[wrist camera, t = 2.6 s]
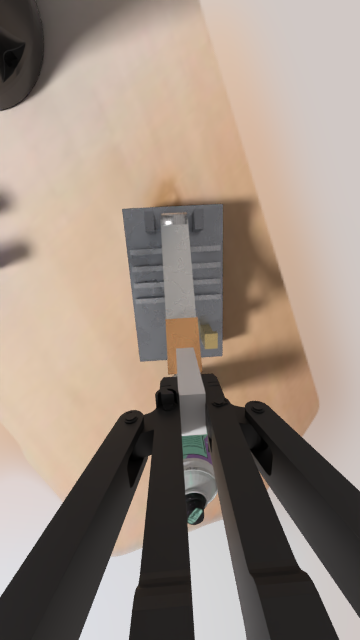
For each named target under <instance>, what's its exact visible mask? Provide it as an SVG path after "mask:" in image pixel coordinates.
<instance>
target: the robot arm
mask: <svg viewBox="0 0 360 640" xmlns="http://www.w3.org/2000/svg"><path fill="white" fill-rule="evenodd" d="M43 47H44V43H43V30H42V24H41V19H40V15H39V11H38V8H37V5H36V2H35V0H0V110H3V109H6V108H9V107H12V106H14V105H16V104H17V103H19V102H20V101H21V100H23V99H24V98H25V97H26V96H27V95H28V93H29V92H30V91H31V89H32V88H33V86H34V84H35V83H36V80H37V78H38V76H39V73H40V69H41V65H42V60H43ZM176 359H177V377H164V378H163V379H162V380H161V382H160V390H158V391H157V392H156V394H155V398H156V409H155V410H154V411H153V412H151V413H148V414H145V415H143V414H142V413H141V412H140V411H137V410H131V411H128V412H126V413H124V414H122V415H121V416H120V417H119V419H118V420H117V422H116V423H115V425H114V426H113V428H112V429H111V431H110V432H109V434H108V435H107V437H106V439H105V440H104V442H103V443H102V445H101V446H100V448H99V449H98V451H97V452H96V454H95V455H94V457H93V458H92V460H91V461H90V463H89V464H88V466H87V467H86V469H85V470H84V472H83V473H82V475H81V476H80V478H79V479H78V481H77V482H76V484H75V485H74V487H73V488H72V490H71V491H70V493H69V494H68V496H67V497H66V499H65V500H64V502H63V504H62V505H61V506H60V508H59V510H58V511H57V512H56V514H55V516H54V517H53V518H52V520H51V521H50V523H49V525H48V526H47V528H46V529H45V531H44V532H43V534H42V535H41V537H40V538H39V540H38V541H37V543H36V544H35V546H34V547H33V549H32V550H31V552H30V553H29V555H28V556H27V558H26V559H25V561H24V562H23V564H22V565H21V567H20V569H19V570H18V571H17V573H16V574H15V576H14V577H13V579H12V580H11V582H10V584H9V585H8V586H7V588H6V589H5V591H4V592H3V594H2V595H1V597H0V640H79V637H80V634H81V632H82V629H83V627H84V624H85V621H86V619H87V616H88V613H89V611H90V608H91V606H92V603H93V600H94V598H95V595H96V593H97V590H98V587H99V585H100V582H101V580H102V577H103V574H104V572H105V569H106V566H107V564H108V561H109V559H110V556H111V554H112V551H113V548H114V546H115V543H116V540H117V538H118V535H119V533H120V530H121V527H122V525H123V522H124V520H125V517H126V514H127V512H128V509H129V506H130V504H131V501H132V499H133V496H134V493H135V491H136V488H137V486H138V483H139V480H140V478H141V475H142V472H143V470H144V467H145V465H146V462H147V459H148V456H149V455H152V458H151V468H150V478H149V488H148V499H147V509H146V519H145V529H144V539H143V550H142V559H141V570H140V578H139V584H138V586H137V588H136V591H135V595H134V601H133V609H132V617H131V627H130V635H129V640H195V637H194V623H193V622H194V621H193V606H192V590H191V575H190V558H189V543H188V527H187V511H186V495H185V480H184V464H183V448H182V436H189V435H202V434H207V433H208V452H210V455H211V460H212V465H213V470H214V475H215V480H216V485H217V490H218V495H219V500H220V505H221V510H222V515H223V520H224V525H225V530H226V535H227V540H228V545H229V550H230V555H231V560H232V565H233V570H234V575H235V580H236V585H237V590H238V595H239V599H240V605H241V610H242V615H243V620H244V625H245V631H246V637H247V640H339V638H338V636H337V634H336V632H335V629H334V627H333V625H332V622H331V620H330V618H329V616H328V613H327V611H326V609H325V607H324V604H323V602H322V600H321V598H320V595H319V593H318V591H317V589H316V587H315V585H314V583H313V581H312V580H311V578H310V577H309V575H308V574H307V573H306V572H304V571H303V570H301V569H300V567H299V566H298V564H297V562H296V560H295V557H294V555H293V553H292V550H291V548H290V545H289V543H288V541H287V538H286V536H285V533H284V531H283V528H282V526H281V524H280V521H279V519H278V516H277V514H276V512H275V509H274V507H273V505H272V502H271V500H270V497H269V495H268V492H267V490H266V488H265V485H264V483H263V480H262V478H261V476H260V473H261V475H262V476H263V478H264V479H265V480H266V482H267V483H268V485H269V486H270V488H271V489H272V490H273V492H274V494H275V495H276V497H277V498H278V499H279V501H280V502H281V504H282V505H283V507H284V508H285V510H286V511H287V513H288V514H289V515H290V517H291V518H292V520H293V521H294V523H295V524H296V526H297V527H298V529H299V530H300V532H301V533H302V534H303V536H304V537H305V539H306V540H307V542H308V543H309V545H310V546H311V548H312V549H313V550H314V552H315V553H316V555H317V556H318V558H319V559H320V561H321V562H322V563H323V565H324V567H325V568H326V569H327V571H328V572H329V574H330V575H331V577H332V578H333V579H334V581H335V583H336V584H337V585H338V587H339V588H340V590H341V591H342V593H343V594H344V596H345V597H346V598H347V600H348V601H349V603H350V604H351V606H352V607H353V609H354V610H355V612H356V613H357V615H358V616H359V618H360V491H359V490H358V489H357V488H356V487H355V486H353V485H352V484H351V483H350V482H349V481H348V480H347V479H346V478H345V477H344V476H343V475H342V474H341V473H340V472H338V471H337V470H336V469H335V468H334V467H333V466H332V465H331V464H330V463H329V462H328V461H327V460H326V459H325V458H323V457H322V456H321V455H320V454H319V453H318V452H317V451H316V450H315V449H314V448H313V447H312V446H311V445H309V444H308V443H307V442H306V441H305V440H304V439H303V438H302V437H301V436H300V435H299V434H298V433H297V432H296V431H295V430H293V429H292V428H291V427H290V426H289V425H288V424H287V423H286V422H285V421H284V420H283V419H282V418H281V417H280V416H278V415H277V414H276V413H275V412H274V411H273V410H272V409H271V408H270V407H269V406H268V405H266V404H265V403H262V402H260V401H250V402H248V403H246V405H245V407H238V406H234V405H232V404H231V403H230V402H229V400H228V399H226V398H225V397H224V394H223V392H222V389H221V387H220V384H219V382H218V379H217V377H216V376H215V375H213V374H200V370H199V367H198V363H197V359H196V355H195V351H194V347H192V348H177V349H176ZM206 429H207V430H206ZM258 470H259V471H258ZM259 472H260V473H259Z"/></svg>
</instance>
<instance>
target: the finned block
mask: <svg viewBox="0 0 360 640" xmlns="http://www.w3.org/2000/svg"><path fill="white" fill-rule="evenodd" d="M122 212H123V220H124V229H125V237H126V246H127V254H128V262H129V271H130V279H131V288H132V296H133V305H134V313H135V322H136V330H137V339H138V347H139V355H140V362H142V361H157V360H168V357H167V339H166V321H165V319H166V311H165V293H164V275H163V257H162V238H161V214H162V213H182V212H186V213H187V218H188V228H189V240H190V251H191V263H192V275H193V287H194V298H195V310H196V317H198V329H199V340H200V352H201V357H215V356H222V327H223V204H211V205H191V206H171V207H150V208H130V209H122Z"/></svg>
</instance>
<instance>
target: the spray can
mask: <svg viewBox="0 0 360 640" xmlns="http://www.w3.org/2000/svg"><path fill="white" fill-rule="evenodd" d="M173 377H177V374H176V375H174V376H173ZM206 430H207V429H206ZM182 448H183V464H184V480H185V495H186V511H187V523H189V524H191V525H196V524H199V523H201V522H202V521H203V519H204V509H205V507H206V506H207V504H208V503H209V502H211V501H212V500H213V499H214V498H215V496H216V495H217V492H218V490H217V485H216V480H215V475H214V470H213V465H212V460H211V455H210V452H208V433H207V434H202V435H189V436H182Z"/></svg>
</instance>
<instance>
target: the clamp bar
mask: <svg viewBox="0 0 360 640" xmlns="http://www.w3.org/2000/svg"><path fill="white" fill-rule="evenodd" d="M161 238H162V257H163V275H164V293H165V311H166V319H165V321H166V339H167V357H168V374H177V359H176V349H177V348H192V347H194V351H195V355H196V359H197V363H198V367H199V370H200V372H202V363H201V352H200V340H199V329H198V317H196V310H195V298H194V287H193V275H192V263H191V251H190V240H189V228H188V218H187V213H186V212H182V213H162V214H161Z"/></svg>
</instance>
